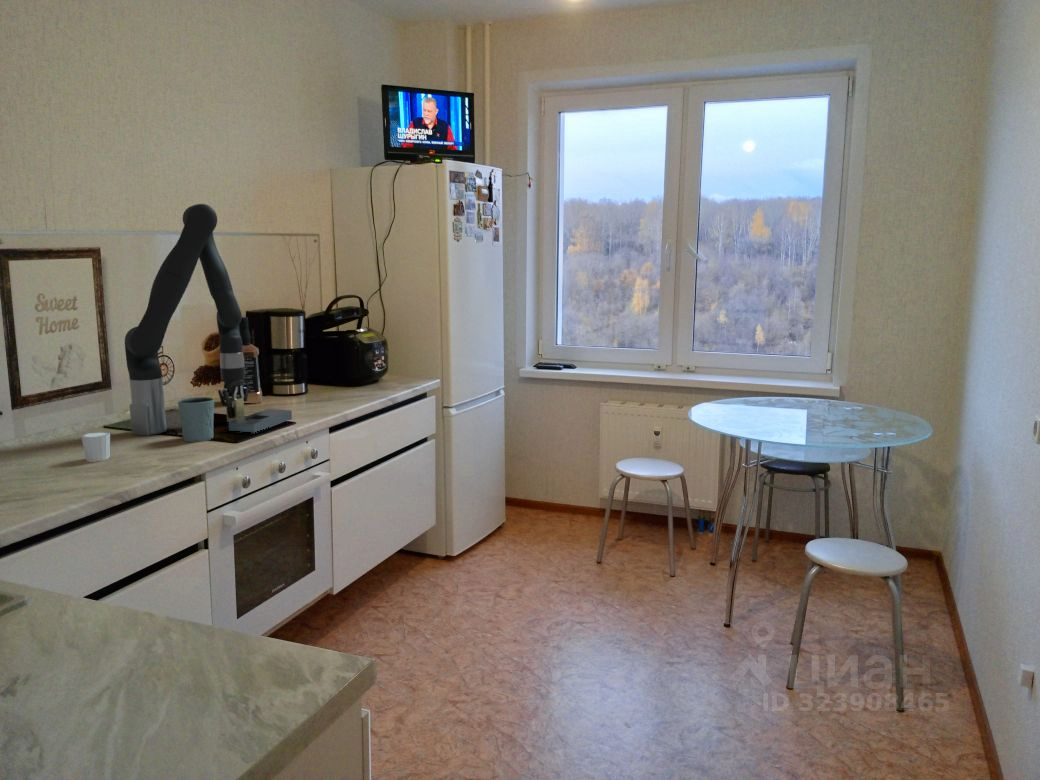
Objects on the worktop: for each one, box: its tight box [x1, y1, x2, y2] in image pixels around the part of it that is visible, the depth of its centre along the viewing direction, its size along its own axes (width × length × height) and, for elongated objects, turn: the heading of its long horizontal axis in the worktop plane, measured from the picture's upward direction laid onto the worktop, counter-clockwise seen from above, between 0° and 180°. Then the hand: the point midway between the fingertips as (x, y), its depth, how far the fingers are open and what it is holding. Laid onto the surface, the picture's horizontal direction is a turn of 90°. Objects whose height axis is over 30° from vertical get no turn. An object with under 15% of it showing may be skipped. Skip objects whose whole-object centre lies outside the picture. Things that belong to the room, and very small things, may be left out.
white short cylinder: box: [81, 431, 111, 463], centre depth 213 cm, size 7×7×7 cm
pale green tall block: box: [225, 397, 246, 423], centre depth 259 cm, size 4×4×8 cm
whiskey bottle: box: [239, 316, 263, 404], centre depth 292 cm, size 10×10×32 cm
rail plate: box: [228, 408, 293, 434], centre depth 255 cm, size 22×9×3 cm, turn 165°
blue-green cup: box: [177, 396, 215, 443], centre depth 236 cm, size 10×10×12 cm
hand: (235, 416), depth 259 cm, fingers closed on pale green tall block, 4 cm apart
